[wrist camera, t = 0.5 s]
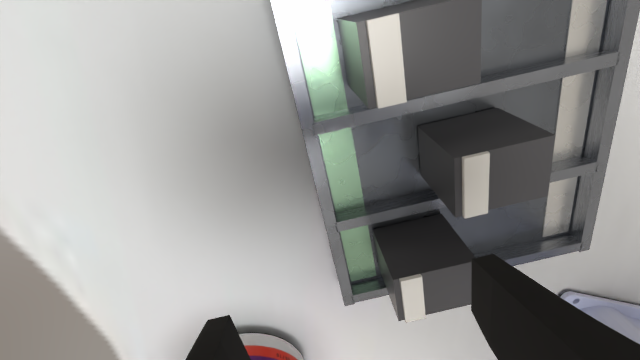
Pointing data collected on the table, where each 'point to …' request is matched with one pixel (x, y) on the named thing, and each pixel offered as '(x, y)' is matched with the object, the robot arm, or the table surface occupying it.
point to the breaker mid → (485, 161)
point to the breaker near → (412, 50)
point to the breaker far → (424, 266)
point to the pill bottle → (269, 347)
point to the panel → (493, 92)
